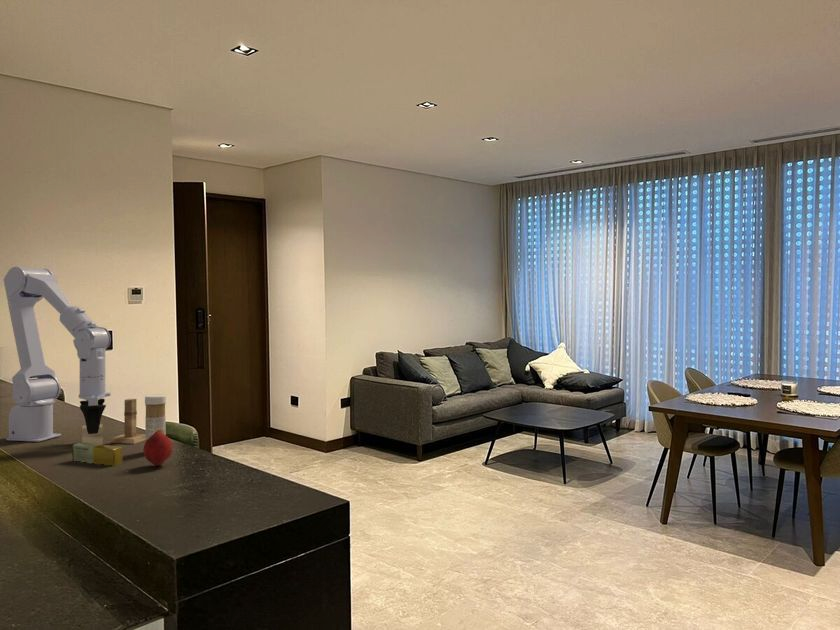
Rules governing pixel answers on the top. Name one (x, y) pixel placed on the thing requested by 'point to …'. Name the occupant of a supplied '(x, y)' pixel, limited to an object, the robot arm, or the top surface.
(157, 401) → the sprinkles bottle
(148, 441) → the onion
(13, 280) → the robot arm
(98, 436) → the cube
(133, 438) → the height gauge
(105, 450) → the medication box
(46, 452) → the top surface
